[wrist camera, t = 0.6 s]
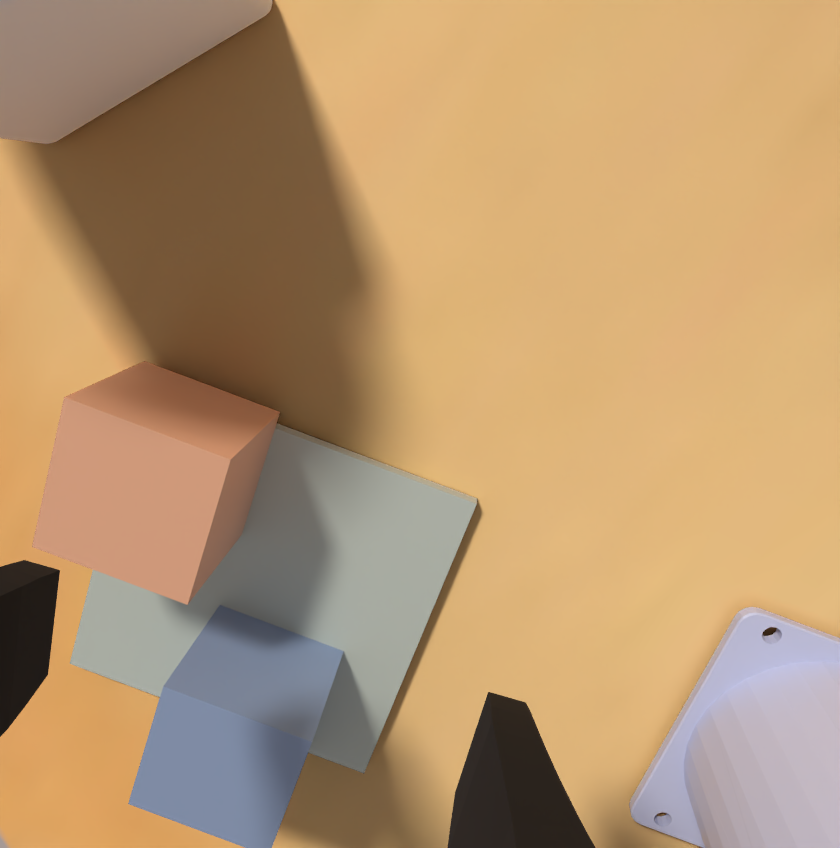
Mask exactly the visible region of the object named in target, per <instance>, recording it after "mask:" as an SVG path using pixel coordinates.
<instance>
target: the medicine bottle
mask: <svg viewBox="0 0 840 848" xmlns="http://www.w3.org/2000/svg"><path fill="white" fill-rule="evenodd" d="M271 7H272V0H0V138H3V139H11V140H19V141H27V142H35V143H43V144H50V143H54V142H56V141H58V140H60V139H62V138H63V137H65V136H67V135H68V134H70V133H71V132H73V131H75V130H76V129H78V128H80V127H81V126H83V125H85V124H86V123H88V122H90V121H91V120H93V119H95V118H96V117H98V116H100V115H101V114H103V113H105V112H106V111H108V110H110V109H111V108H113V107H115V106H116V105H118V104H120V103H121V102H123V101H125V100H126V99H128V98H130V97H131V96H133V95H135V94H136V93H138V92H140V91H141V90H143V89H145V88H146V87H148V86H150V85H151V84H153V83H155V82H156V81H158V80H160V79H161V78H163V77H165V76H166V75H168V74H170V73H171V72H173V71H175V70H176V69H178V68H180V67H181V66H183V65H185V64H186V63H188V62H190V61H191V60H193V59H195V58H196V57H198V56H200V55H201V54H203V53H204V52H206V51H208V50H209V49H211V48H213V47H214V46H216V45H218V44H219V43H221V42H223V41H224V40H226V39H228V38H229V37H231V36H233V35H234V34H236V33H238V32H239V31H241V30H243V29H244V28H246V27H248V26H249V25H251V24H253V23H254V22H256V21H258V20H259V19H261V18H263V17H264V16H266V15H267V14H268V13H269V12H270V11H271Z"/></svg>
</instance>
